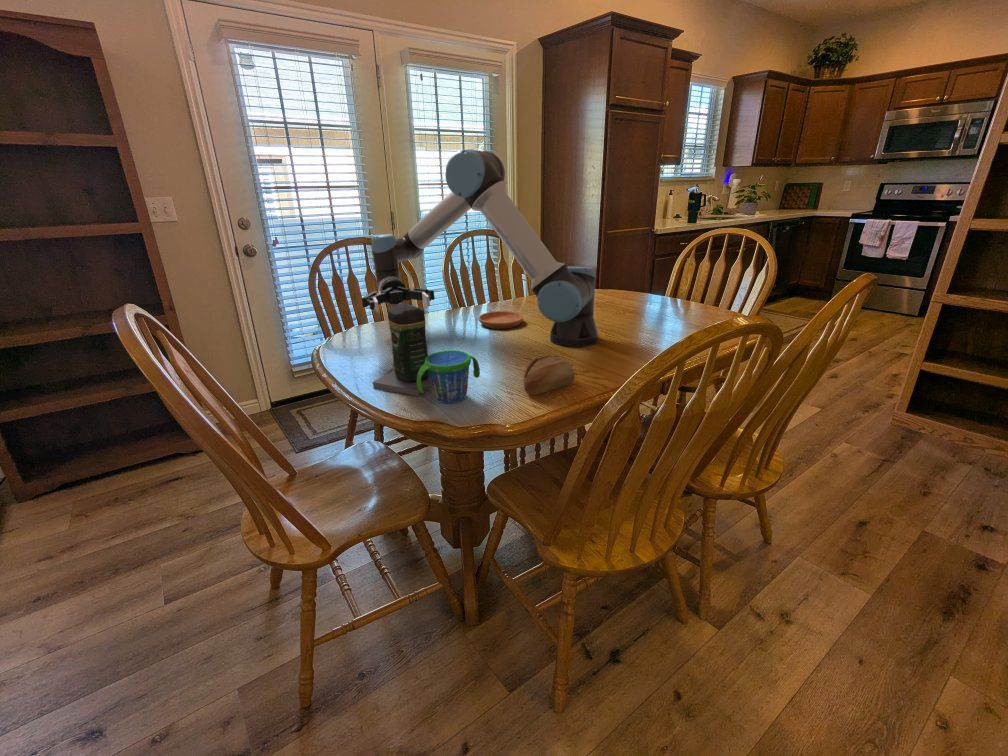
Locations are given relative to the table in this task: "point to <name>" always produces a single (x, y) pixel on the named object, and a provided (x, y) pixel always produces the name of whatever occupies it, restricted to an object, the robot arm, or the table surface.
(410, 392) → the stand
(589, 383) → the table surface
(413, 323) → the coffee jar
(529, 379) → the bread roll
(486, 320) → the saucer
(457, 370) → the snack cup
